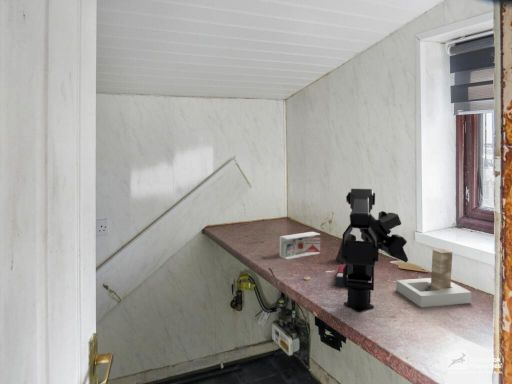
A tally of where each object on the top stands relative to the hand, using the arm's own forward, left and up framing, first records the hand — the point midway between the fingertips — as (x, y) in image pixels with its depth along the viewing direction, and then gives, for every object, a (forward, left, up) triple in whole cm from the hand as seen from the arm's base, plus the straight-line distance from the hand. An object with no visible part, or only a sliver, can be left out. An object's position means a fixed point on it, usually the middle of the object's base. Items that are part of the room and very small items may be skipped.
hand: (398, 256), depth 112 cm
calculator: (-1, +19, -14) cm, 23 cm away
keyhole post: (+13, -6, -14) cm, 20 cm away
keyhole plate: (+11, -5, -14) cm, 18 cm away
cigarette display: (+3, +55, -14) cm, 57 cm away
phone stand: (+15, +37, -14) cm, 42 cm away
